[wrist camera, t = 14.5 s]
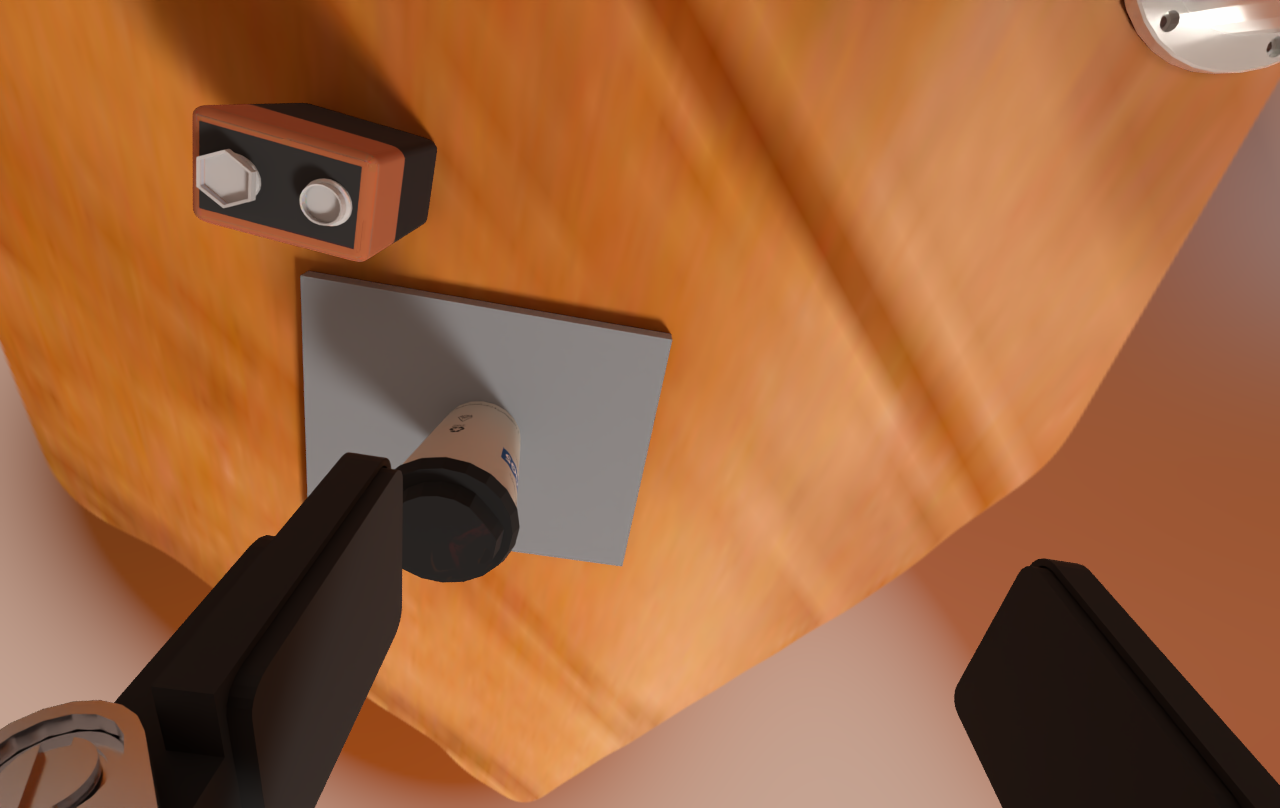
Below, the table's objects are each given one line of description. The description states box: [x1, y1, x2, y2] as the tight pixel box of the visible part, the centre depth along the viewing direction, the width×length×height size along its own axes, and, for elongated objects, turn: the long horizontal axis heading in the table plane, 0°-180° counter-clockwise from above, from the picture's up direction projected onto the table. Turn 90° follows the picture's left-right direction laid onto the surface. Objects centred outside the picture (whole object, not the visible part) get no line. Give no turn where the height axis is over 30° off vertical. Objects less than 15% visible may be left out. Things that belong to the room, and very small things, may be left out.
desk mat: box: [300, 271, 672, 566], centre depth 39 cm, size 20×16×1 cm
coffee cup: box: [396, 401, 521, 582], centre depth 34 cm, size 7×7×10 cm
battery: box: [193, 103, 437, 262], centre depth 29 cm, size 4×7×10 cm, turn 74°
